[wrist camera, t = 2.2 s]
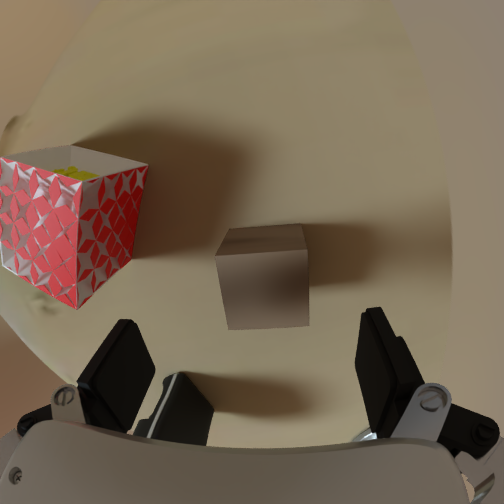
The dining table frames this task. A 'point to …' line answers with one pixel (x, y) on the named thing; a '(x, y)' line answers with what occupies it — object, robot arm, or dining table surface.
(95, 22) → the dining table surface
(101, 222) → the puzzle cube
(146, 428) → the battery charger
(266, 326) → the walnut block
